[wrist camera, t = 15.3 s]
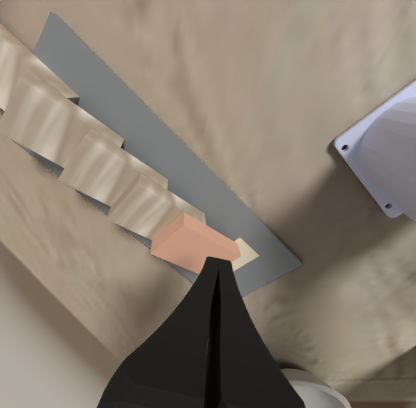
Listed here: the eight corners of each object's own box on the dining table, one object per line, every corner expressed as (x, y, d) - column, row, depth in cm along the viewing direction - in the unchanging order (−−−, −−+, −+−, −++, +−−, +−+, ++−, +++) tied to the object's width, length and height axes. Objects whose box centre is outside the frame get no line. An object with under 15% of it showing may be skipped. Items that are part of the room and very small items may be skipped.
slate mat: (301, 261, 24) (303, 265, 24) (223, 303, 29) (222, 306, 29) (55, 13, 16) (50, 11, 16) (6, 129, 21) (1, 130, 21)
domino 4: (206, 224, 21) (137, 184, 17) (173, 250, 23) (106, 219, 19) (204, 213, 22) (140, 173, 18) (173, 238, 24) (110, 207, 20)
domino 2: (120, 147, 18) (18, 77, 15) (92, 183, 20) (-4, 131, 17) (124, 138, 20) (30, 72, 16) (97, 174, 22) (8, 123, 18)
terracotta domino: (240, 256, 22) (184, 224, 18) (207, 277, 24) (150, 253, 20) (237, 243, 23) (184, 211, 20) (206, 265, 26) (151, 240, 22)
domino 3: (167, 189, 20) (84, 136, 16) (137, 219, 22) (57, 179, 18) (168, 179, 21) (91, 128, 17) (139, 209, 23) (65, 169, 19)
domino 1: (66, 97, 17) (-27, 13, 15) (42, 142, 19) (-42, 73, 17) (79, 97, 18) (-5, 19, 17) (56, 138, 21) (-21, 74, 19)
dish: (247, 335, 32) (248, 374, 27) (352, 349, 30) (371, 393, 26) (239, 391, 40) (239, 428, 36) (322, 405, 38) (332, 446, 34)
